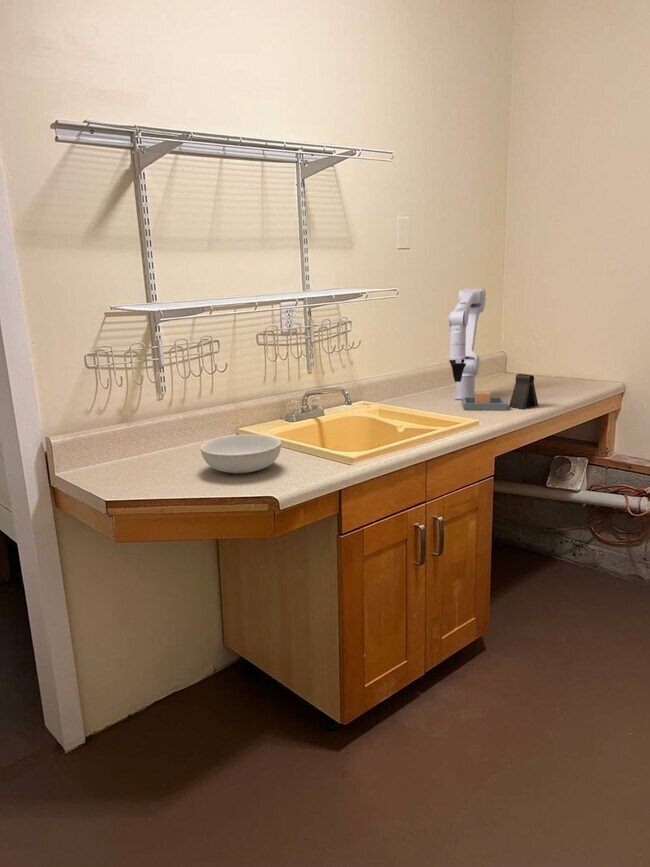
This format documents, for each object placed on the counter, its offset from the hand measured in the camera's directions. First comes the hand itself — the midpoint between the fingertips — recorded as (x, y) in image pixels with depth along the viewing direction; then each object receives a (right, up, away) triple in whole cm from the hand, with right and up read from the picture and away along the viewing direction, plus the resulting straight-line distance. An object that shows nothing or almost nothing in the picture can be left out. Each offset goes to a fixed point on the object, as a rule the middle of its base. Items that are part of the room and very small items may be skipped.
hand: (457, 380), depth 247 cm
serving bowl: (-71, -30, -74) cm, 107 cm away
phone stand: (+23, -10, -5) cm, 26 cm away
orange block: (+9, -10, -4) cm, 14 cm away
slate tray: (+9, -10, -3) cm, 14 cm away
